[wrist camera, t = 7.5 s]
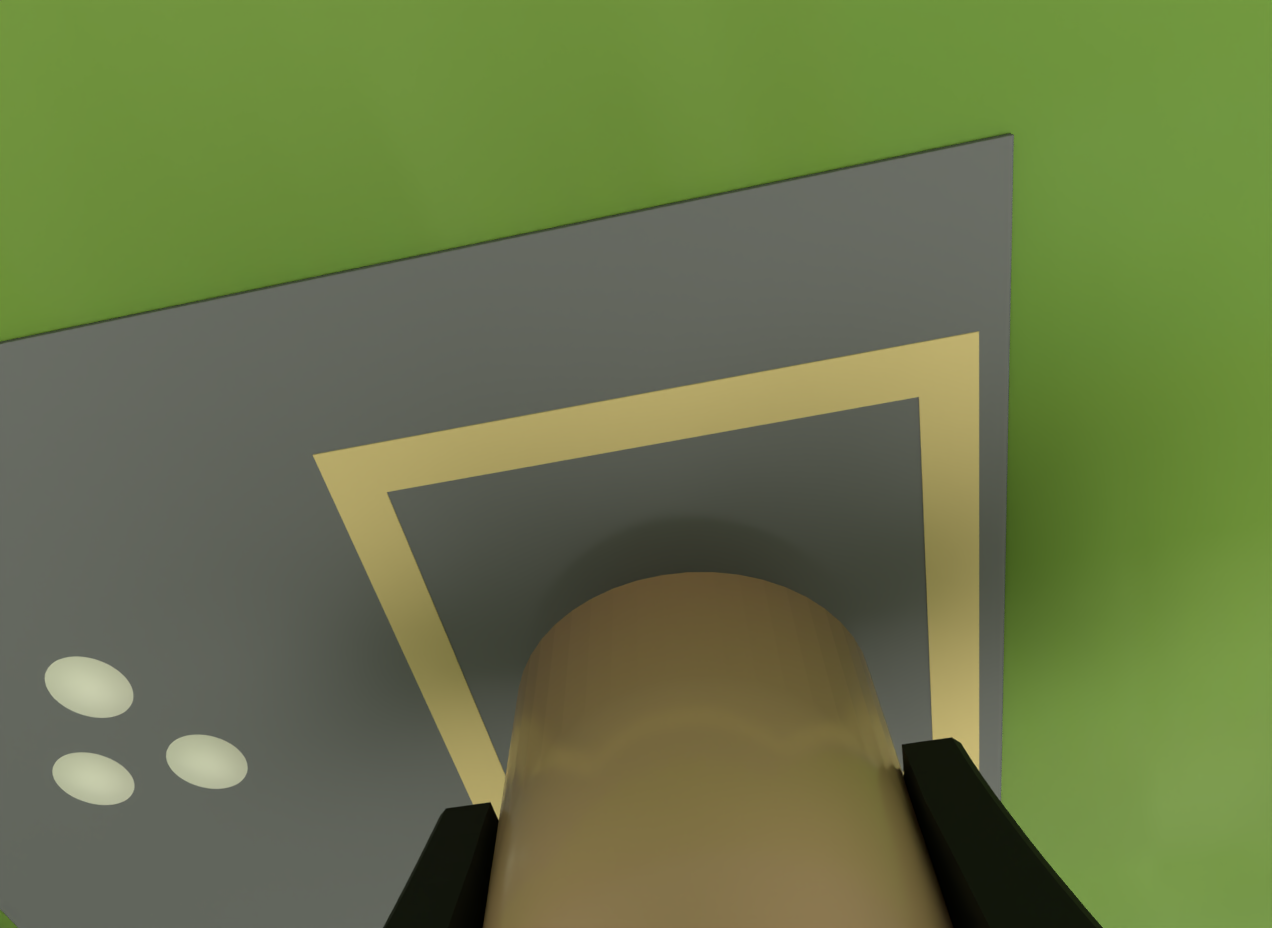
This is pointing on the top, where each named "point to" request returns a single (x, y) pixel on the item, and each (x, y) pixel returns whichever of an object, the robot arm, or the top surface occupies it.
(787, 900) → the tan upright cylinder
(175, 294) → the top surface
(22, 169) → the top surface
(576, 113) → the top surface
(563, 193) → the top surface
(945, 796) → the robot arm
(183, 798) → the counter mat
